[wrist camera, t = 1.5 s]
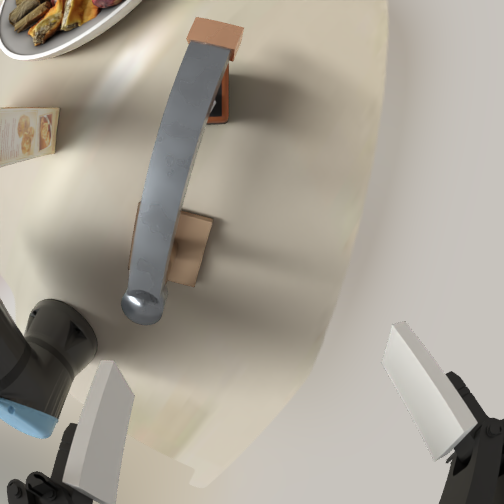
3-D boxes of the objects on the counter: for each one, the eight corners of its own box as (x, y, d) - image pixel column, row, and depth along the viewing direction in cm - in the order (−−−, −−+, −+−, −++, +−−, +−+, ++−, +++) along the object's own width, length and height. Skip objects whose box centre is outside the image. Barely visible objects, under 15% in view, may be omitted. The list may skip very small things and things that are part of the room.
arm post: (130, 264, 38) (103, 313, 27) (141, 200, 34) (108, 231, 24) (195, 281, 40) (187, 336, 29) (212, 219, 37) (208, 258, 26)
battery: (192, 125, 31) (180, 123, 22) (192, 75, 28) (180, 54, 19) (227, 124, 32) (228, 120, 23) (227, 73, 29) (228, 51, 20)
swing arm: (129, 299, 27) (119, 320, 24) (197, 31, 17) (193, 16, 14) (164, 309, 28) (158, 331, 24) (243, 42, 18) (246, 28, 15)
